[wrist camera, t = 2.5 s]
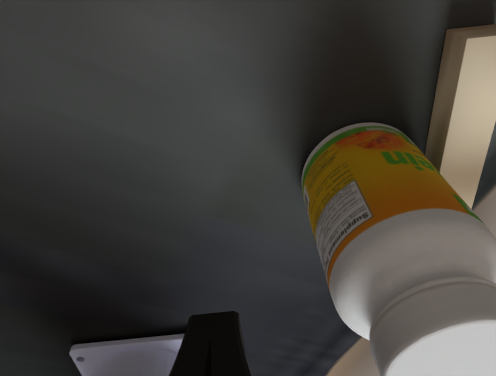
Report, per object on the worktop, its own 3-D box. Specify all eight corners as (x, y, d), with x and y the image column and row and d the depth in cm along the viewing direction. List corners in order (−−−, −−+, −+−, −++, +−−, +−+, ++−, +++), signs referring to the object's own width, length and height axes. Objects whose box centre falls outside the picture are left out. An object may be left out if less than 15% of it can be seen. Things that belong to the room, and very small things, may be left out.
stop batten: (436, 270, 22) (448, 291, 21) (403, 273, 22) (414, 294, 21) (495, 24, 15) (519, 32, 13) (446, 29, 15) (467, 38, 13)
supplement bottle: (441, 150, 18) (623, 338, 10) (367, 233, 20) (462, 437, 12) (344, 97, 16) (464, 269, 8) (277, 194, 19) (316, 399, 10)
